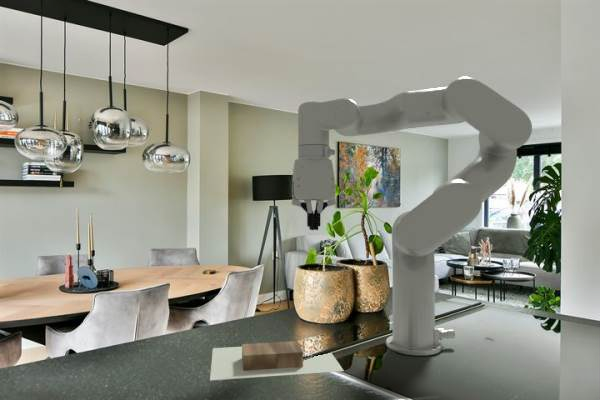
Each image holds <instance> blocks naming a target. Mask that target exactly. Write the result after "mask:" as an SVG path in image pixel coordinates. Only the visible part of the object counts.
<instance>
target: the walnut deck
mask: <svg viewBox="0 0 600 400" xmlns="http://www.w3.org/2000/svg"><path fill="white" fill-rule="evenodd" d="M299 343H300V342H299V341H297V340H296V341H295V340H294V341H293V340H292V341H278V342H274V341H272V342H258V343H256V342H255V343H241V347H242V362H243V371H249V370H264V369H279V368H294V367H303V351H302V349H301V347H300V345H299Z"/></svg>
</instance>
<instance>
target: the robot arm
mask: <svg viewBox="0 0 600 400" xmlns="http://www.w3.org/2000/svg"><path fill="white" fill-rule="evenodd" d="M297 110H298V113H297V115H298V116H297V124H298V125H297V129H298V130H297V131H298V132H297V136H298V137H297V144H298V145H297V148H298V150H297V153H298V155H297V156H298V157H297V158H298V159H294V162H293V169H292V182H291V183H292V184H291V197H292V201H291V205H293V206H295V207H300V208H302V210H303V211H305V213H306V221H307V222H306V225H307V228H308V227H309V230H310V231H318V230H319V227H321V213H323V211H324V210H325V209H326V208H327V207H331V206H335V205H336V204H337V203H336V198H335V197H336V180H335V179H336V177H335V171H334V164H333V159H330V157H331V156H335V154H336V150H335V149H331V146H330V130H333V131H335V133H337V134H338V135H340V136H342V137H343V136H344V137H358V136H367V135H376V134H382V133H388V132H397V131H402V130H408V129H415V128H426V127H434V126H447V125H455V124H456V125H457V124H462V123H467V124H468V125H470V126H471V127H472V128H474V129H475V130H476V131H478V143H479V152H478V154H477V156H476V158H475V159H473V160H472V162H470V163H468V165H466V167H463V169H461V171H459V172H458V173H456V175H454V176H452V177H451V178H450V179H449V180H447V181H446V182H443V183H442V184H440V185H438V186H437V187H436V188H435V190H434V191H433V192H432V193H431V194H430V195H429V196H427V197H426V198H425V199H424V200H422V201H421V202H420V203H419V204H417V205H416V206H415V207H414V208H413V209H411V210H408V211H405V212H403V213H401V214H399V215H398V216H397V217H396V219H395V220H394V222H393V225H392V227H391V247H392V248H391V249H392V252H391V253H392V254H391V255H392V335H389V336H388V337H387V338H386V340H385V345H386V347H387V348H388V349H390V350H392V351H393V352H396V353H398V354H403V355H407V356H419V357H420V356H421V357H422V356H432V355H436V354H438V353H440V352H441V351H442V350H443V343H442V342H441V341H443V339H447V340H449V339H455V337H456V333H455V330H454V329H444V327H443V328H442V327H441V328H438V327H436V326H435V325H436V323H435V321H436V319H435V318H436V307H435V306H436V303H435V302H436V298H435V297H436V294H435V292H436V290H435V288H436V285H435V282H436V277H435V276H436V268H435V266H436V265H435V263H436V261H435V251H436V250H437V249H438V248H440V247H441V246H442V245H443V244H445V243H446V242H448V241H449V240H450V239H452V238H453V237H454V236H456V235H457V234H458V233H460V232H461V231H462V230H464V229H465V228H467V227H468V226H469V225H470V224H471V223H472V222H474V220H475V219H476V218H477V217H478V216H479V214H480V212H481V210H482V206H483V203H484V202H486V200H488V199H489V198H490V197H491V196H493V195H494V194H495V193H496V192H498V190H500V189H501V188H502V187H503V186H504V185H506V183H507V182H508V181H509V179H510V178H511V177H512V175H513V173H514V171H515V168H516V164H517V159H518V158H517V157H518V155H517V154H518V151H517V150H518V149H519V148H521V147H522V146H524V145H525V144H526V143H527V142H528V141H529V139H530V138H531V135H532V132H533V125H532V121H531V119H530V117H529V116H528V114H527V113H526V112H525V111H524V110H523V109H521V108H520V106H519V107H518V106H517V105H516V104H514V103H513V102H511V101H510V100H509V99H507V98H506V97H504V96H503V95H502V94H499V93H498V92H497V91H496V90H494V89H492V88H491V87H489V86H488V85H487V84H484V83H483V82H482V81H480V80H477V78H476V79H475V78H473V77H469V76H462V77H458V78H455V79H454V80H453V81H451V82H450V83H449V84H448V85H447V86H443V87H437V88H436V87H435V88H434V87H433V88H426V89H418V90H417V89H416V90H407V91H403V92H400V93H398V94H396V95H395V96H393V97H391V98H389V99H387V100H385V101H381V102H379V103H373V104H369V105H361V106H359V105H358V104H357V102H356V101H354V100H353V99H350V98H344V97H343V98H336V99H332V100H327V101H305V102H303V103H301V104H300V105H299V107H298V109H297ZM312 201H315V202H316V203H315V209H314V210H313V206H312V205H313V204H312Z"/></svg>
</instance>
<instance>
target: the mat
mask: <svg viewBox="0 0 600 400" xmlns="http://www.w3.org/2000/svg"><path fill="white" fill-rule="evenodd" d="M211 353H212V355H211V364H210V376H209V377H210V378H209V381H210V382H211V381H224V380H225V381H226V380H236V379H237V380H238V379H239V380H241V379H250V378H251V379H253V378H265V377H266V378H267V377H269V378H270V377H280V376H281V377H283V376H295V375H311V374H323V373H324V374H325V373H339V372H344V371H345V370H344V369H343V368H342V366H341V365H340V363H339V361H338V360H337V358H336V357H335V356H334V354H333V353H332V352H331V353H328V354H323V355H318V356H314V357H313V358H310V359H307V360H304V361H303V367H294V368H279V369H264V370H249V371H243V362H242V346H232V347H231V346H229V347H227V346H226V347H213V348H212V352H211Z"/></svg>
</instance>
